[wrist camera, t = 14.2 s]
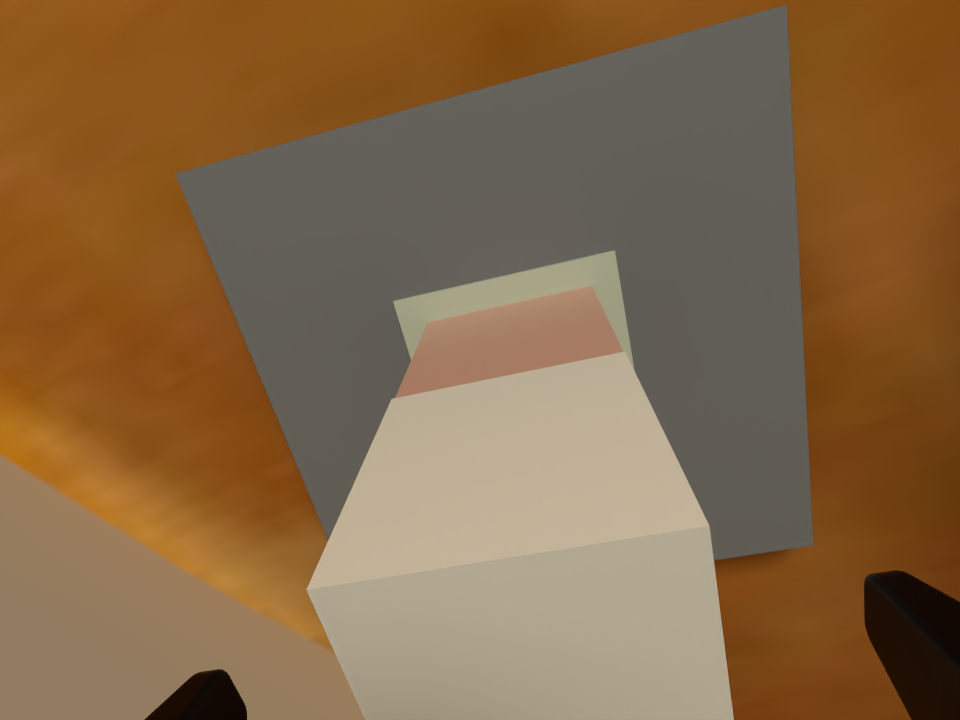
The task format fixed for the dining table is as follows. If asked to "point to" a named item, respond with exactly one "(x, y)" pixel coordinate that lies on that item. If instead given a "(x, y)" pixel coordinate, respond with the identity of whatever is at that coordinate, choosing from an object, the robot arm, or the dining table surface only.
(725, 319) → the charcoal plate
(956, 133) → the dining table surface
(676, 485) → the cream block
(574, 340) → the terracotta block
